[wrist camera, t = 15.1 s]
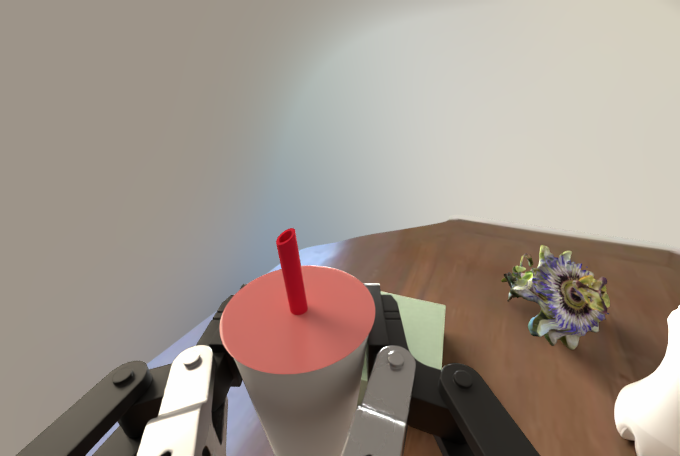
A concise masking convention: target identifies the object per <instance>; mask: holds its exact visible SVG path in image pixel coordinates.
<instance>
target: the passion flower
mask: <svg viewBox="0 0 680 456" xmlns="http://www.w3.org/2000/svg"><path fill="white" fill-rule="evenodd" d="M571 253H572V252H571V251H566V252H564V253H562V254H561V255H560V256H559V259H558V258H555V257H554V255H553V254H551V253H550V251H549V248H548V247H547V246H544V245H541V247H540V254H539V257H540V262H539V266H538V268H535V269H534V268H532V270H531V271H527V272H525V274H523V273H522V271H524V270H526V268H524V267H523V266H522V263H523V257H524V256H525V257H526V258H527V259H528V261H529V266H530V267H531V266H532V265H533V261H532V258H531V255H530V254H524V255H523V256H522V257H521V262H520V266H515V267H513V273H512V274H511V273H510V272H508V273H507V274H504V277H505V278H503V279H502V280H501V281H502V282H508V283H509V286H510V288H511V289H510V293H509V297H508V300H507V301H509V300H511V299H512V297H513V298H514V297H517V298H518V297H523V298H524V299H527V300H529V301H534V302H536V303H538V304H539V305H540V307H541V311H540V313H539V314H538V315H537V316H536V317H533V318H532V319H531V321H530V322H529V324H528V329H529V331H530V333H531V335H533V336H538V337H541V336H543V335H544V336H545V338H546V339H547V340H548V342H549V343H550V344H551V345H552V346H554V345H555V343H556V342H557V340H558V339H560V340H561V342H562V343H563V344H564V345H565V346H566V347H567V348H569V349H571V350H573V349H575V348H576V347H577V345H578V342H579V337H581V336H584V335H585V334H586V333H587V331H591V332H598V331H599V326H598V324H599V322H600V321H602V320H603V319H605V316H604V315H605V314H609V313H607V308H608V307H609V306H610V302H609V298H608V295H607V293H606V287H605V284H607V279H606V278H605V277H600V278H599V279H598V280H595V279H594V278H593V276H594V274H593V273H592V272H590V271H586V270H580V269H581V266H582V264H575V265H574V263H575V262H572V263H571V260H570V257H571ZM586 267H587V266H586Z"/></svg>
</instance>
